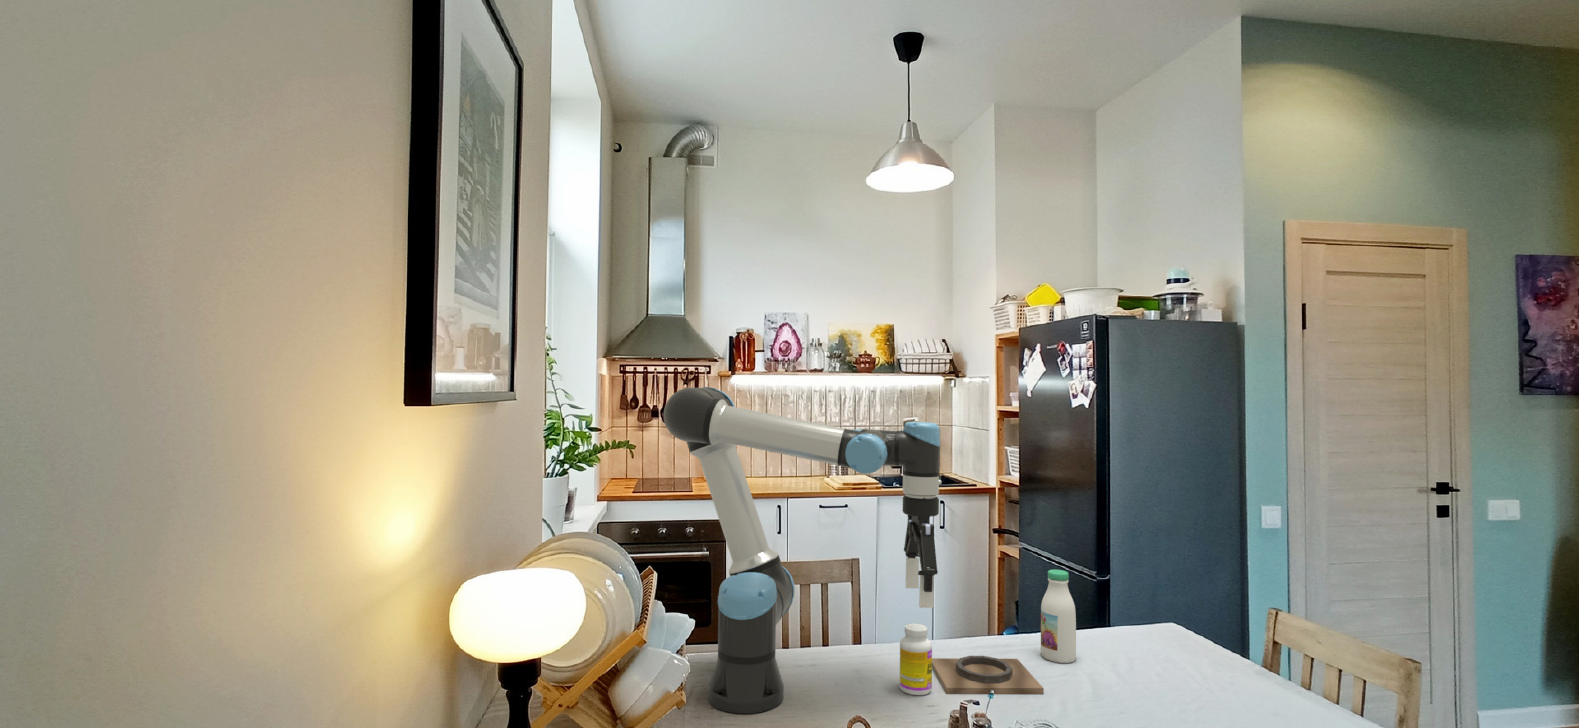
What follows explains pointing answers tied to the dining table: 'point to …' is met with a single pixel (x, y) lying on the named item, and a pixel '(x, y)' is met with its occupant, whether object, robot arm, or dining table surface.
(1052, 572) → the milk bottle
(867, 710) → the dining table surface
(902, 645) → the supplement bottle
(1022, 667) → the socket board
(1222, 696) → the dining table surface
